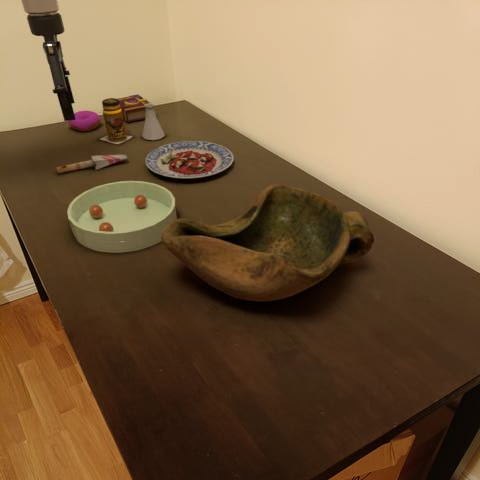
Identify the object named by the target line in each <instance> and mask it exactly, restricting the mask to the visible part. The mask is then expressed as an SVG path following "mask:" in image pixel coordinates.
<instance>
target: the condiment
mask: <svg viewBox="0 0 480 480" xmlns="http://www.w3.org/2000/svg"><path fill="white" fill-rule="evenodd" d="M101 104H102V115H103V120H104V126H105V129H106V134H107V135H105V136H103V137H101V138H99V140H101V141H104V142H107V143H111V144H114V145H115V144H116V145H120V144H122V143H124V142H126V141H128V140H130V139H131V138H133V135H127V131H126V124H125V121H124V119H123V112H122V109H121V108H120V104H119V100H118V98H116V97H115V98H114V97H109V98H105V99H103V100H102V101H101Z"/></svg>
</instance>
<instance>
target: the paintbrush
mask: <svg viewBox="0 0 480 480" xmlns="http://www.w3.org/2000/svg"><path fill="white" fill-rule="evenodd" d="M126 159H128V156H127V155H126V154H105V155H103V154H102V155H91V159H90V160H86V161H81V162H75V163H70V164H67V165H62V166H57V167H56V171H57V173H58V175H59V174H65V173H69V172H74V171H77V170H83V169H87V168H92V167H94V169H95V171H97V170H99V169H102V168H104V167H107V166H110V165H112V164H116V163H119V162H121V161H123V160H126Z"/></svg>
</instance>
